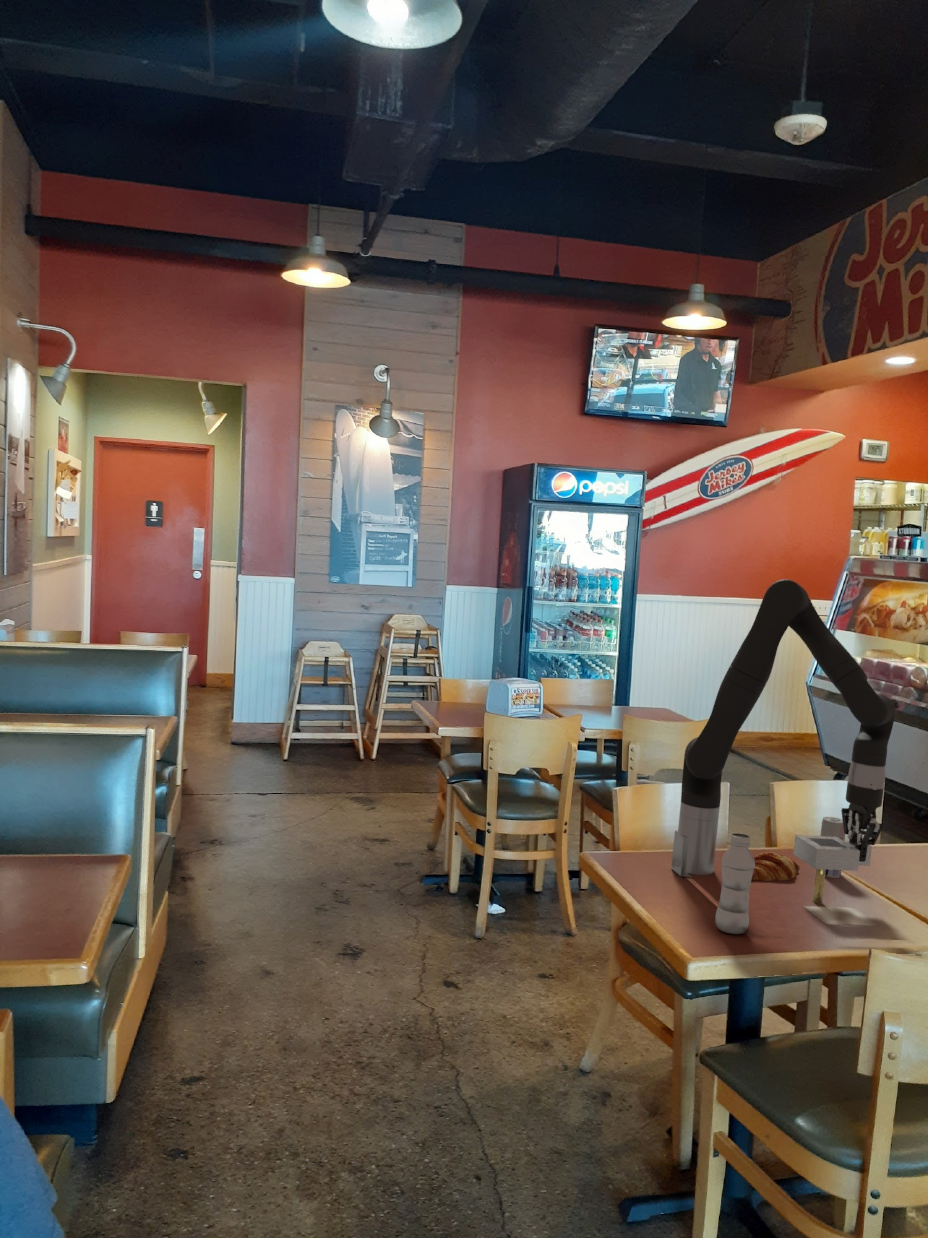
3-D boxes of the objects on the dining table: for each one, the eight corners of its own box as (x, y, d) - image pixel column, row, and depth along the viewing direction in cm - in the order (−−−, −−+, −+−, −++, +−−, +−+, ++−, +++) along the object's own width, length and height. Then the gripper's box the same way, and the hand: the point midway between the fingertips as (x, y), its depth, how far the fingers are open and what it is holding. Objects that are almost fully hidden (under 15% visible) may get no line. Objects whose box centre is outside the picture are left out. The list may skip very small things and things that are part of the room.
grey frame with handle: (814, 869, 203) (817, 848, 202) (793, 854, 213) (795, 835, 212) (879, 871, 204) (881, 851, 204) (854, 857, 214) (856, 837, 214)
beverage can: (836, 876, 233) (842, 817, 233) (843, 883, 228) (849, 823, 227) (813, 873, 234) (819, 815, 233) (819, 881, 228) (826, 821, 228)
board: (820, 930, 195) (820, 924, 194) (778, 897, 213) (778, 892, 213) (891, 933, 197) (891, 927, 197) (843, 900, 215) (843, 894, 215)
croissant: (785, 882, 236) (775, 851, 239) (819, 875, 229) (809, 842, 232) (736, 894, 223) (726, 860, 226) (771, 886, 216) (760, 852, 219)
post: (815, 904, 208) (819, 868, 207) (811, 900, 210) (814, 865, 209) (823, 904, 208) (827, 869, 207) (819, 901, 210) (822, 866, 209)
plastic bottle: (709, 925, 193) (718, 830, 192) (740, 926, 193) (750, 832, 192) (720, 937, 186) (730, 839, 185) (753, 939, 187) (763, 841, 186)
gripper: (834, 774, 214) (825, 848, 215) (867, 790, 201) (857, 868, 202) (864, 776, 215) (855, 850, 216) (899, 792, 202) (889, 870, 203)
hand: (856, 858), depth 209 cm, fingers closed on grey frame with handle, 2 cm apart
